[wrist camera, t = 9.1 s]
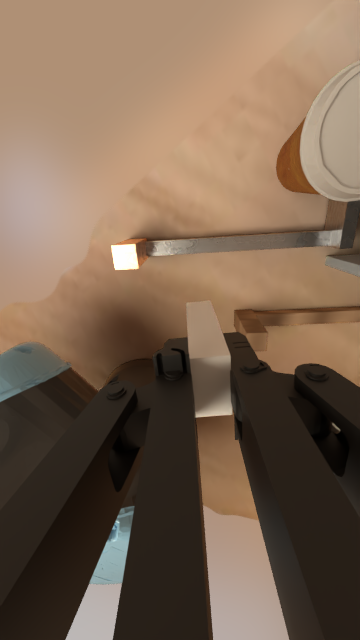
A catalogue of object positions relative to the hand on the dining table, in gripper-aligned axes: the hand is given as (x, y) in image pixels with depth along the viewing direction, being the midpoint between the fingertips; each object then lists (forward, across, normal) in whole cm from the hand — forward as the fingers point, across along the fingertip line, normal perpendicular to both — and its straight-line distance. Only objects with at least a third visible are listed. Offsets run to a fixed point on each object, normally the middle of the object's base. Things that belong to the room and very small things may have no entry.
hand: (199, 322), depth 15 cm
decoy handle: (+21, +16, -9) cm, 28 cm away
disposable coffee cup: (+21, +14, +11) cm, 27 cm away
